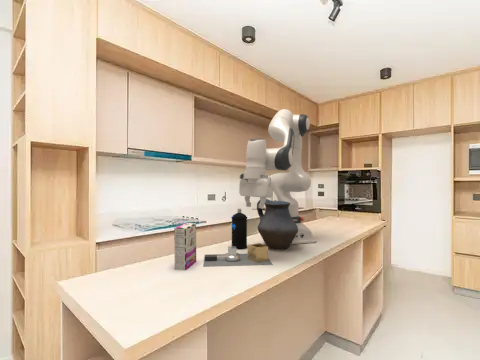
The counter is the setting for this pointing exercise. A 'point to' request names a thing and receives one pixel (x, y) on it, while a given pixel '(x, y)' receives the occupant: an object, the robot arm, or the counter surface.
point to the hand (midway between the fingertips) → (254, 207)
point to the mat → (243, 262)
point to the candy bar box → (185, 246)
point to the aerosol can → (239, 230)
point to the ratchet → (225, 256)
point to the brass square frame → (258, 252)
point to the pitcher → (276, 225)
